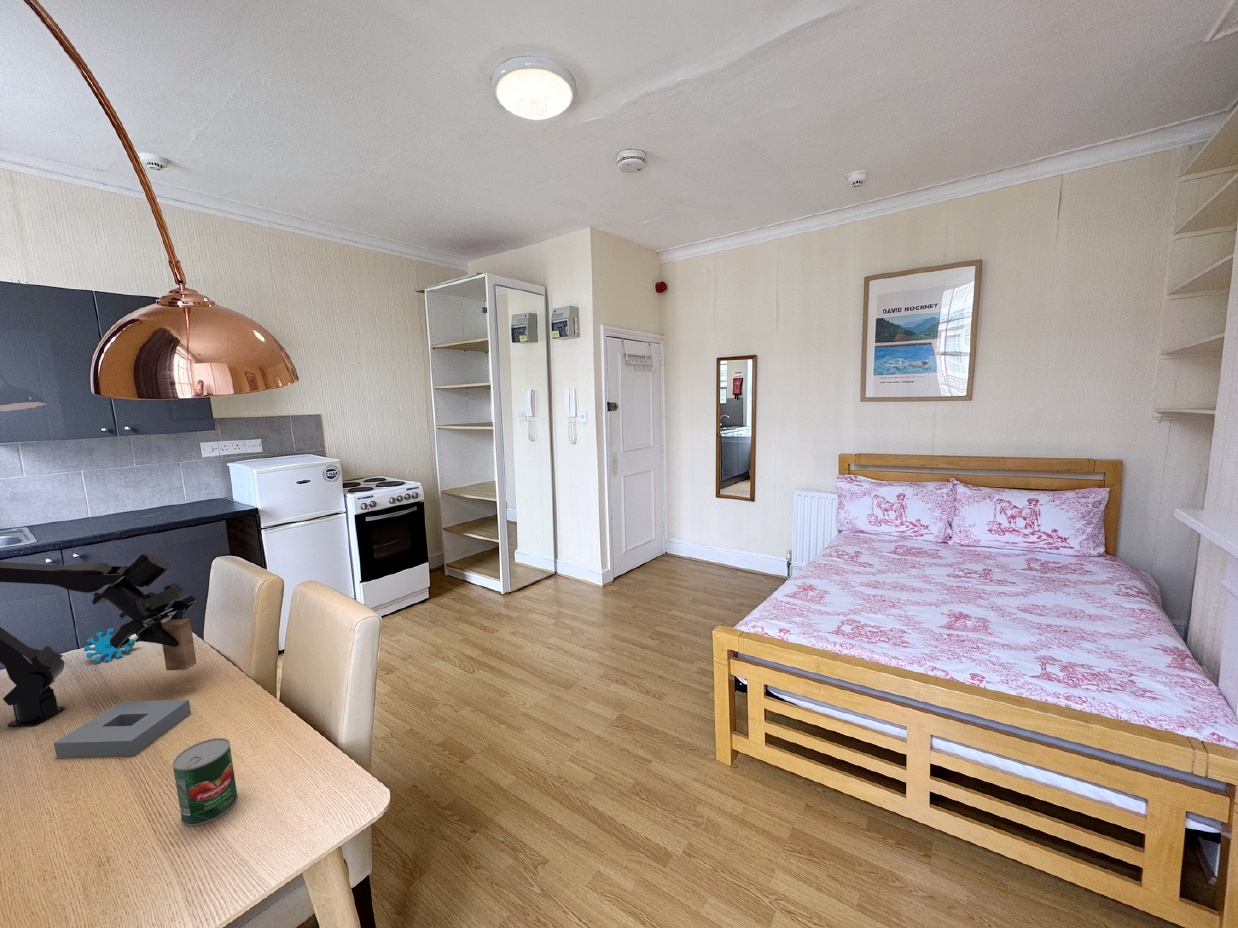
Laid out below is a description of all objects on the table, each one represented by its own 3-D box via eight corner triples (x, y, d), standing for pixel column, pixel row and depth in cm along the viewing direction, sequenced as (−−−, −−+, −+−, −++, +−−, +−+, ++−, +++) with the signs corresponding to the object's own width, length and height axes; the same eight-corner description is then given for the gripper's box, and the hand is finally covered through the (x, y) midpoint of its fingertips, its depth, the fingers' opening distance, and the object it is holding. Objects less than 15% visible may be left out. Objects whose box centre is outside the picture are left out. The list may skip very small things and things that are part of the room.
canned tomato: (208, 790, 93) (199, 737, 92) (248, 790, 93) (241, 737, 92) (168, 826, 86) (159, 769, 84) (213, 826, 85) (204, 769, 84)
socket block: (56, 758, 103) (53, 742, 102) (122, 715, 117) (120, 701, 116) (134, 756, 103) (131, 740, 103) (191, 713, 117) (188, 699, 116)
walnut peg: (166, 670, 123) (159, 624, 122) (176, 663, 126) (170, 619, 125) (186, 669, 123) (179, 624, 122) (196, 663, 126) (190, 618, 125)
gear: (81, 664, 137) (85, 630, 142) (83, 672, 141) (86, 639, 146) (137, 654, 145) (139, 623, 150) (137, 663, 148) (139, 632, 153)
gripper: (113, 593, 112) (169, 638, 114) (184, 565, 131) (231, 604, 132) (84, 627, 113) (140, 670, 115) (158, 594, 132) (206, 632, 133)
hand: (183, 641), depth 124 cm, fingers closed on walnut peg, 3 cm apart
